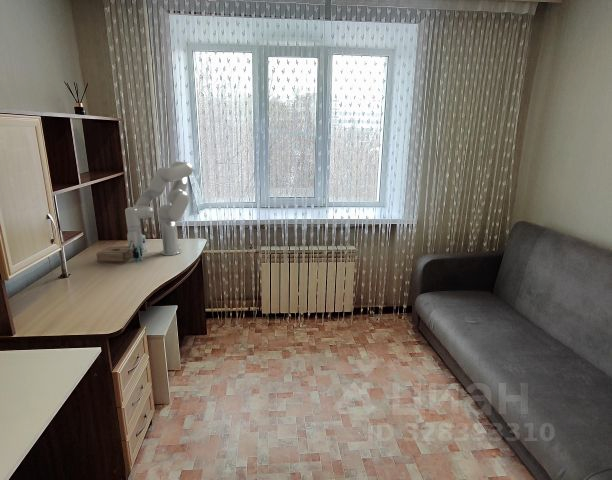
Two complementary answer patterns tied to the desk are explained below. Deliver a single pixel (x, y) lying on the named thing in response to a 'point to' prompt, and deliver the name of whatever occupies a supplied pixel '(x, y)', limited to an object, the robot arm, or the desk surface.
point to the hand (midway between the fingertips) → (137, 256)
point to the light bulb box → (144, 247)
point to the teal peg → (139, 255)
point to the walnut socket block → (114, 254)
